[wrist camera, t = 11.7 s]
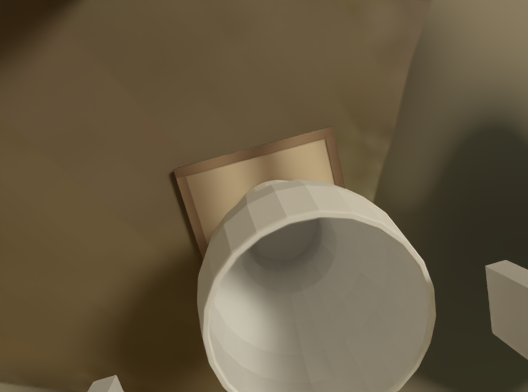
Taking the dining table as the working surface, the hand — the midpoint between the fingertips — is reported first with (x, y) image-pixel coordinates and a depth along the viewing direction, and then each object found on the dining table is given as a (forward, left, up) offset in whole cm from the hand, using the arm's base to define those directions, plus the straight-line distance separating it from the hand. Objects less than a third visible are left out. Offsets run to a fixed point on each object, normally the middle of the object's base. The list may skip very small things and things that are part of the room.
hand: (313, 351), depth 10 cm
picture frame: (0, 0, -17) cm, 17 cm away
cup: (+1, 0, -17) cm, 17 cm away
